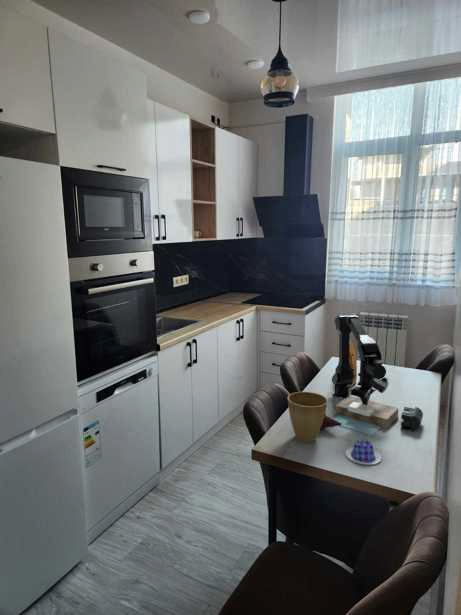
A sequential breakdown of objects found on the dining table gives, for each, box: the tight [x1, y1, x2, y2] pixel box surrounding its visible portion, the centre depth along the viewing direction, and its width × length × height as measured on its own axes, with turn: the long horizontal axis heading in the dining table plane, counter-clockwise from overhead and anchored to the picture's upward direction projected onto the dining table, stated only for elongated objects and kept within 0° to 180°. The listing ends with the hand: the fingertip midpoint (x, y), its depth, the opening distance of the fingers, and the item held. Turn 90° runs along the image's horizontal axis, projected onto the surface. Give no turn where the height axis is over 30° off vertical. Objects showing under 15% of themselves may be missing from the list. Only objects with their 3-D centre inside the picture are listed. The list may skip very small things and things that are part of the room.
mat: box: [333, 414, 382, 437], centre depth 165 cm, size 18×9×1 cm, turn 50°
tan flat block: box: [335, 395, 399, 429], centre depth 174 cm, size 22×14×4 cm, turn 50°
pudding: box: [345, 439, 382, 466], centre depth 142 cm, size 12×12×5 cm
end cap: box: [400, 406, 424, 432], centre depth 164 cm, size 10×7×7 cm
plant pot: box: [287, 391, 328, 443], centre depth 154 cm, size 15×15×16 cm
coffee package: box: [337, 340, 358, 387], centre depth 213 cm, size 10×12×22 cm
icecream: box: [319, 413, 341, 431], centre depth 162 cm, size 7×7×15 cm
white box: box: [348, 402, 375, 416], centre depth 169 cm, size 9×6×2 cm, turn 50°
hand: (365, 406), depth 172 cm, fingers closed
